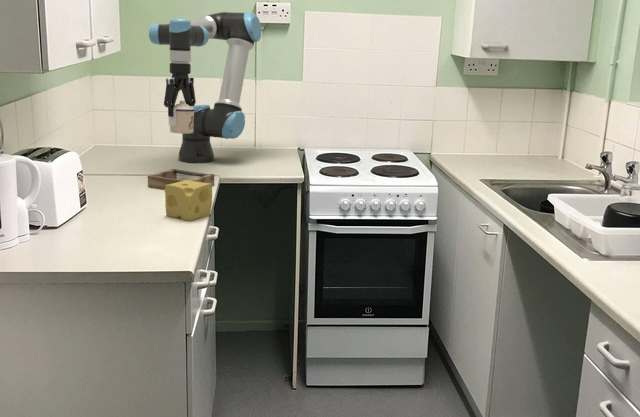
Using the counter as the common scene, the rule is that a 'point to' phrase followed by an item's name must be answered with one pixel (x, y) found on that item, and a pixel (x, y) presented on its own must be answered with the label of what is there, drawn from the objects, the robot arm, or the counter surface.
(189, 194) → the cheese
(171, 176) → the wooden tray
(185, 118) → the teacup with lid
